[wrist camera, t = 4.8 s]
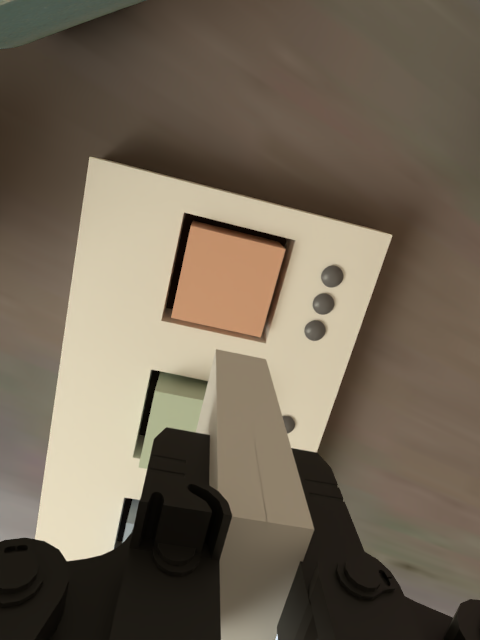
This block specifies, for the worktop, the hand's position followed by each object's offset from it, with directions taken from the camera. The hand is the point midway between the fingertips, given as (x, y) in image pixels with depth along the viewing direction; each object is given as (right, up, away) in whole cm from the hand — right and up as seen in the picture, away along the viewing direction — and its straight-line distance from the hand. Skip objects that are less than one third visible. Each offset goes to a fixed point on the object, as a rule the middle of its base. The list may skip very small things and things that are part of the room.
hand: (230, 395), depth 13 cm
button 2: (-3, -4, +15) cm, 15 cm away
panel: (-3, -3, +16) cm, 17 cm away
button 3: (-1, +5, +13) cm, 14 cm away
